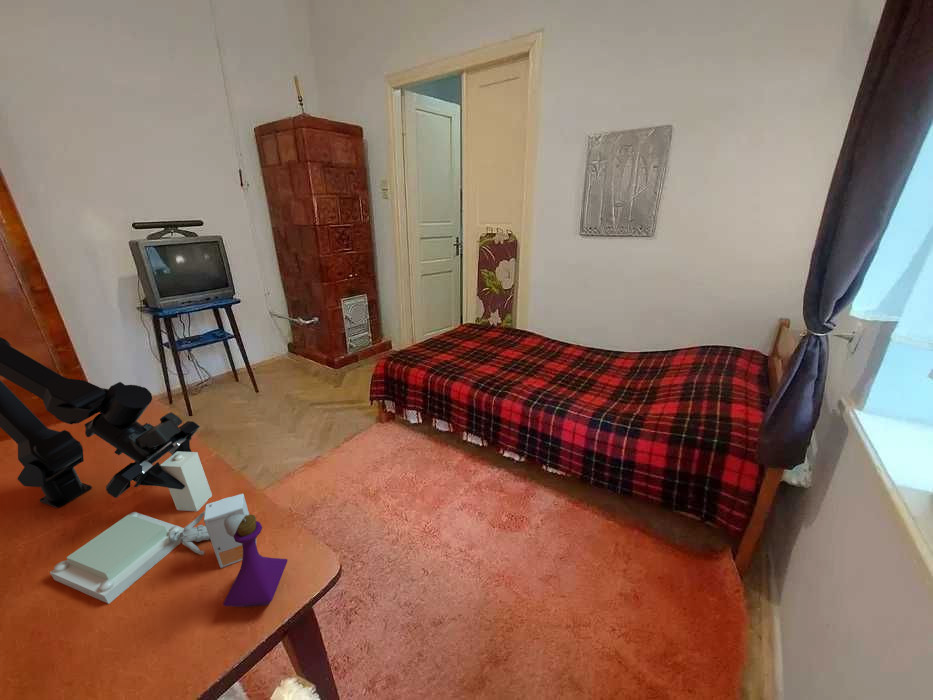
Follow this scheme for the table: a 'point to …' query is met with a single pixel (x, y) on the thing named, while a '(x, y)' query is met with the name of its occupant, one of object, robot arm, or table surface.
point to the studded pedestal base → (117, 556)
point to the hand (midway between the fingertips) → (192, 479)
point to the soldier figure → (191, 535)
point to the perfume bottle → (252, 565)
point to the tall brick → (188, 480)
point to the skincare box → (214, 521)
